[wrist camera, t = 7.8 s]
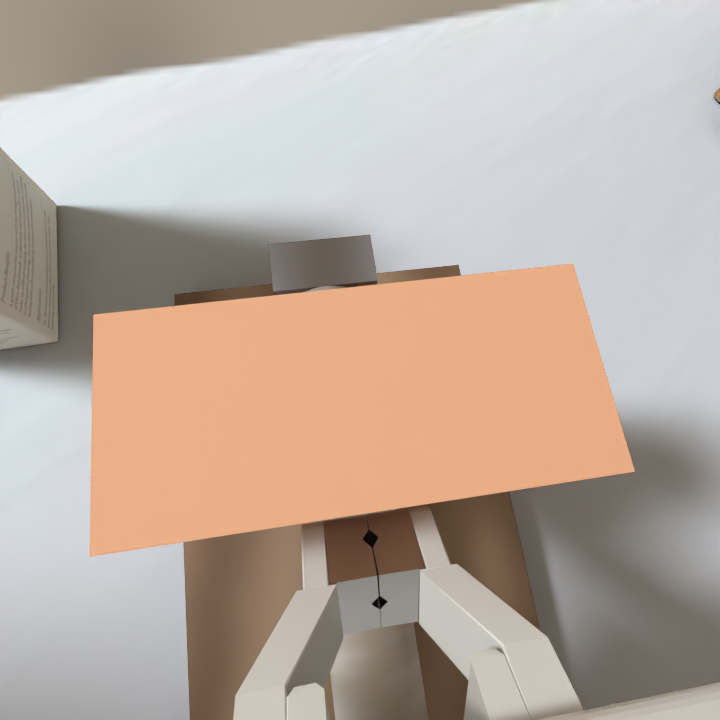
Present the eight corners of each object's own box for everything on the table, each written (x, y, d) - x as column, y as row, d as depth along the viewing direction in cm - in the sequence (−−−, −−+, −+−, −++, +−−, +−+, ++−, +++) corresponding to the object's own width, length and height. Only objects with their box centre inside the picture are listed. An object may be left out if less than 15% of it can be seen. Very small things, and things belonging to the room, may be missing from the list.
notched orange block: (242, 513, 18) (89, 556, 7) (235, 417, 20) (93, 314, 8) (452, 481, 19) (635, 471, 8) (435, 391, 20) (573, 263, 9)
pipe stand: (211, 943, 16) (145, 1196, 10) (184, 306, 23) (134, 245, 17) (575, 855, 18) (694, 1035, 12) (450, 278, 24) (488, 212, 18)
